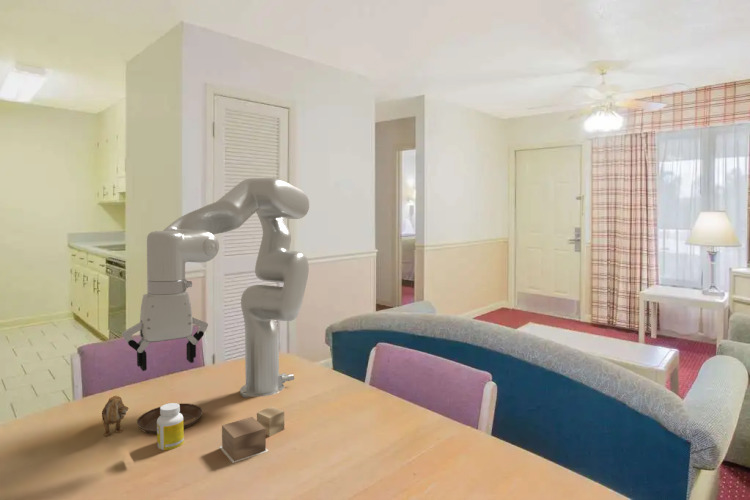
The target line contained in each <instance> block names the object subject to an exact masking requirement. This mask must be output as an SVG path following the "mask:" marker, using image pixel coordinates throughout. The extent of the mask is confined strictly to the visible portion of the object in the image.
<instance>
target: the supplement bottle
mask: <svg viewBox="0 0 750 500" xmlns="http://www.w3.org/2000/svg"><path fill="white" fill-rule="evenodd" d="M179 404H180V403H176V402H169V403H165V404H163V405H161V406H159V407H160V415H161V416H160V417H159V418H158V419H157V433H156V439H157V441H156V442H157V443H156V444H157V448H158V449H159V450H163V451H169V450H174V449H177V448H179V447H181V446H183V445H184V443H185V433H184V431H185V428H184V425H185V424H184V422H183V415H182V414H181V413H179V412H180V405H179Z"/></svg>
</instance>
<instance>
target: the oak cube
mask: <svg viewBox="0 0 750 500" xmlns="http://www.w3.org/2000/svg"><path fill="white" fill-rule="evenodd" d="M256 420H257V421H258V422H259V423H260V424H261V425H262V426H263V427H265V428H266V437H272V436H274V435H276V434H278V433H280V432H282V431H284V430H285V410H282V409H280V408H278V407H275V406H273V405H272V406H269V407H266V408H265V409H262V410H260V411H257V412H256Z"/></svg>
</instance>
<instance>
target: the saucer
mask: <svg viewBox="0 0 750 500" xmlns="http://www.w3.org/2000/svg"><path fill="white" fill-rule="evenodd" d="M178 404H179V405H180V412H179V413H181V414H182V415H183V423H185V422H188V421H190V422H188V423H186V424H183V425H184V429H187V428H189V427H190V426H193V425H194V424H195V423H197V422H198V421H199V419H200V418H201V416H202V414H203V409H202V408H201V407H200V406H198V405H197V404H193V403H178ZM160 407H161V406H159V407H155V408H153V409H150V410H148V411H146V412H144V413H142V414H141V415H140V416H139V417H138V419H136V425H137V426H138V429H140V430H141V431H143V432H144V433H146V434H157V419H158V418H159V417H160V416H161V415H160ZM193 419H194V420H193ZM191 420H192V421H191Z"/></svg>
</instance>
